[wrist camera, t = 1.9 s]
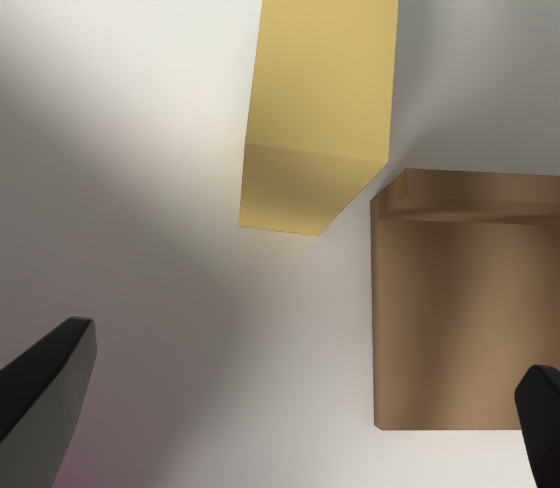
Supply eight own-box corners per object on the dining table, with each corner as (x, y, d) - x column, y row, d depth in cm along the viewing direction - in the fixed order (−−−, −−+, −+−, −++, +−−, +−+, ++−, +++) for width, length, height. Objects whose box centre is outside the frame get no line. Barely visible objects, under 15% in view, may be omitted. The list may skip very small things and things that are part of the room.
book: (238, 226, 24) (245, 142, 13) (251, 123, 25) (266, -35, 14) (317, 236, 24) (388, 162, 13) (326, 133, 25) (399, -12, 14)
